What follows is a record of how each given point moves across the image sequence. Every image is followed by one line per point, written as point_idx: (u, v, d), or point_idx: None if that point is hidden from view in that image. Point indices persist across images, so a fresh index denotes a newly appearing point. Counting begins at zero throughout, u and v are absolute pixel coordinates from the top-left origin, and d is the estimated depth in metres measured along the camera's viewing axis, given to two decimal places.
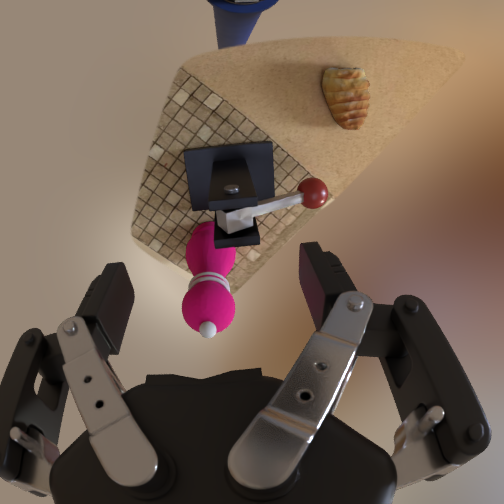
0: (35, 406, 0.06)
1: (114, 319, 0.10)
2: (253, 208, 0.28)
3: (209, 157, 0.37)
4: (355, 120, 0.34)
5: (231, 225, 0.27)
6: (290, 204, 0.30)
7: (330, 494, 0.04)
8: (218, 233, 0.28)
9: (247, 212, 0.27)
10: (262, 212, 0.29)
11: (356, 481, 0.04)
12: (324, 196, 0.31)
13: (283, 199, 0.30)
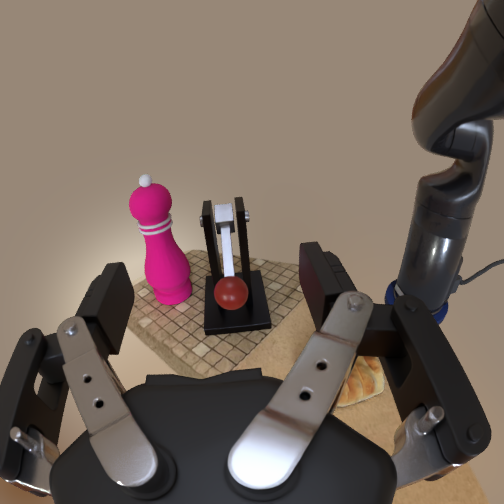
0: (35, 406, 0.06)
1: (114, 319, 0.10)
2: (228, 228, 0.34)
3: (254, 283, 0.45)
4: None
5: (220, 206, 0.35)
6: (224, 261, 0.32)
7: (330, 494, 0.04)
8: None
9: (228, 217, 0.34)
10: (223, 235, 0.34)
11: (356, 481, 0.04)
12: (230, 288, 0.29)
13: (231, 254, 0.32)
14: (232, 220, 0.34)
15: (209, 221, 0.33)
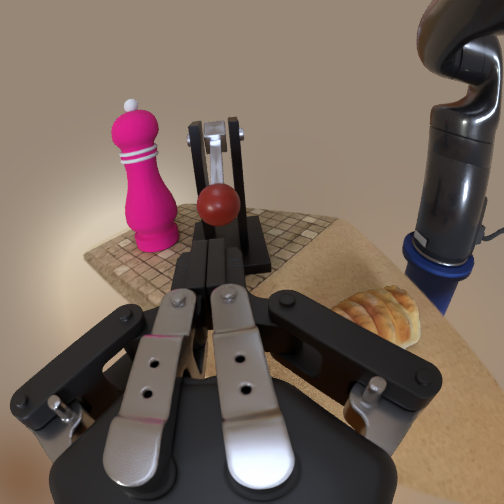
0: (95, 383, 0.07)
1: None
2: (219, 142, 0.28)
3: (251, 227, 0.38)
4: None
5: (211, 123, 0.28)
6: (212, 172, 0.25)
7: (346, 503, 0.04)
8: None
9: (219, 131, 0.28)
10: (212, 149, 0.27)
11: (356, 481, 0.04)
12: (217, 192, 0.22)
13: (220, 165, 0.26)
14: (224, 134, 0.27)
15: (197, 133, 0.27)
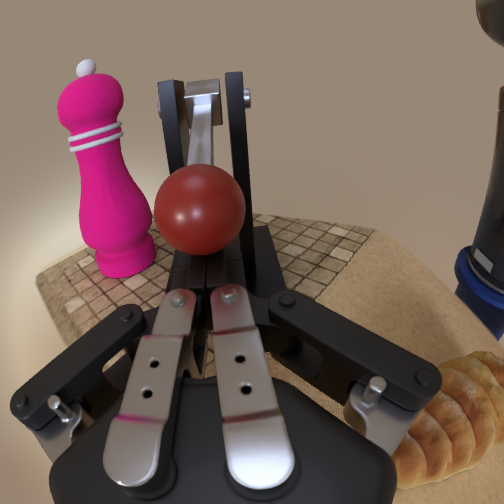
0: (95, 383, 0.07)
1: None
2: (209, 107, 0.15)
3: (258, 243, 0.26)
4: (410, 444, 0.09)
5: (198, 82, 0.16)
6: (192, 149, 0.13)
7: (346, 503, 0.04)
8: None
9: (210, 90, 0.15)
10: (196, 116, 0.15)
11: (356, 481, 0.04)
12: (194, 180, 0.10)
13: (208, 138, 0.13)
14: (217, 93, 0.15)
15: (171, 93, 0.14)
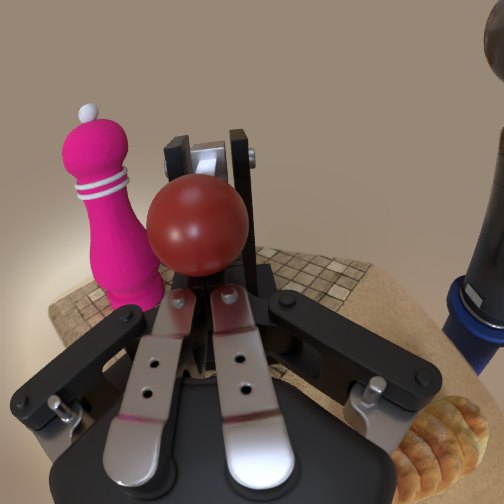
0: (95, 383, 0.07)
1: None
2: (214, 160, 0.17)
3: (261, 284, 0.28)
4: None
5: (204, 143, 0.19)
6: None
7: (346, 503, 0.04)
8: (189, 152, 0.20)
9: (215, 146, 0.17)
10: (201, 165, 0.16)
11: (356, 481, 0.04)
12: (191, 179, 0.09)
13: None
14: (222, 148, 0.17)
15: (178, 160, 0.16)
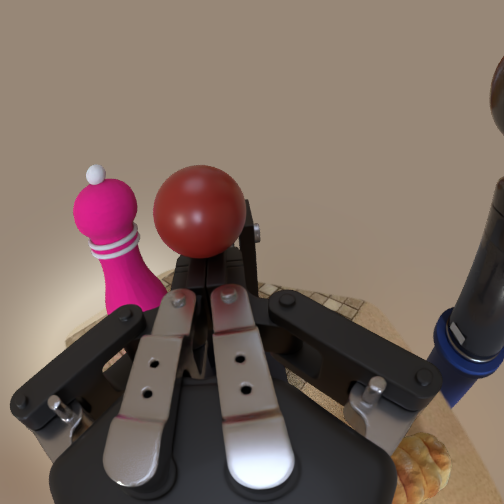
0: (95, 383, 0.07)
1: None
2: None
3: None
4: None
5: None
6: None
7: (346, 503, 0.04)
8: None
9: None
10: None
11: (356, 481, 0.04)
12: None
13: None
14: None
15: None
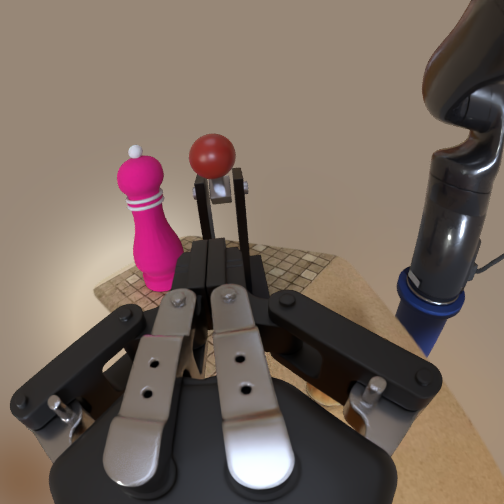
0: (95, 383, 0.07)
1: None
2: None
3: (253, 268, 0.40)
4: None
5: None
6: None
7: (346, 503, 0.04)
8: (207, 182, 0.32)
9: None
10: None
11: (356, 481, 0.04)
12: None
13: None
14: (227, 176, 0.30)
15: (203, 190, 0.29)
